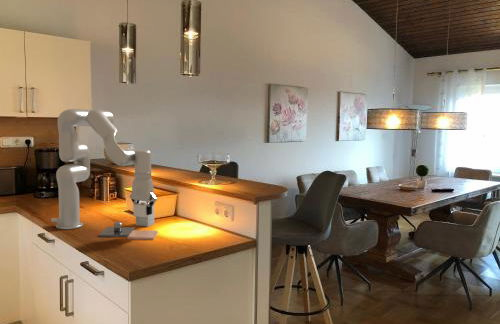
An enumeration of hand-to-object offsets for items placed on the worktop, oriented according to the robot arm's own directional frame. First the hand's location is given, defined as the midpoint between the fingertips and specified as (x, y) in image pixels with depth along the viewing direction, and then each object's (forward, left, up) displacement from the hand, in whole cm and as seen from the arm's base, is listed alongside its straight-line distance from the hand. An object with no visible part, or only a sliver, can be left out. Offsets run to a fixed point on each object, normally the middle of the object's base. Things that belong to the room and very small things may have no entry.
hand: (143, 213), depth 198 cm
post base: (-13, +5, -11) cm, 18 cm away
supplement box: (-3, +22, -11) cm, 25 cm away
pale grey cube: (0, 0, -1) cm, 1 cm away
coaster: (0, 0, -11) cm, 11 cm away
